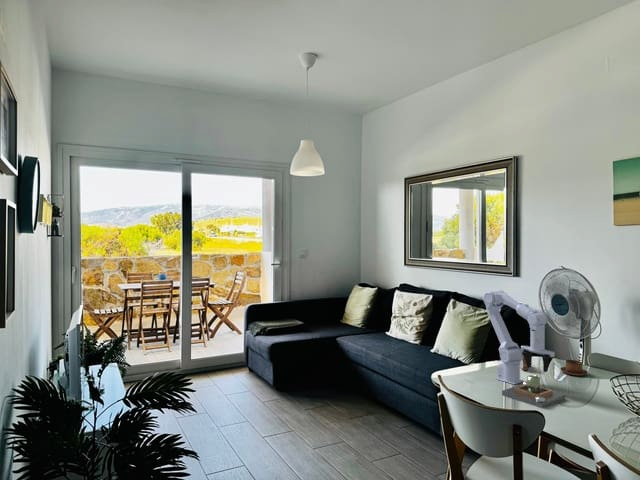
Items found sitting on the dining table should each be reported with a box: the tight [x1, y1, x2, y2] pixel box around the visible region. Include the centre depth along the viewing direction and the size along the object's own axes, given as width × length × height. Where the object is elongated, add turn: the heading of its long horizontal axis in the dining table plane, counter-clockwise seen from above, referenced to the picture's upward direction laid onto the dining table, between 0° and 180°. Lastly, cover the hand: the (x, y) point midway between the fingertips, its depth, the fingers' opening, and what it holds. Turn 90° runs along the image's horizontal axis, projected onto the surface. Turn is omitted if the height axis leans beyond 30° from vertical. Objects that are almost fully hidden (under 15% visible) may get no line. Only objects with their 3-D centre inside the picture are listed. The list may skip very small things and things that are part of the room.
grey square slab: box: [501, 380, 566, 409], centre depth 190 cm, size 18×18×4 cm
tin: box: [520, 351, 529, 371], centre depth 234 cm, size 15×3×8 cm, turn 168°
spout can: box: [526, 374, 541, 394], centre depth 191 cm, size 5×5×8 cm
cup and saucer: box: [560, 359, 589, 377], centre depth 224 cm, size 12×12×6 cm
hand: (537, 369), depth 199 cm, fingers open, 7 cm apart
